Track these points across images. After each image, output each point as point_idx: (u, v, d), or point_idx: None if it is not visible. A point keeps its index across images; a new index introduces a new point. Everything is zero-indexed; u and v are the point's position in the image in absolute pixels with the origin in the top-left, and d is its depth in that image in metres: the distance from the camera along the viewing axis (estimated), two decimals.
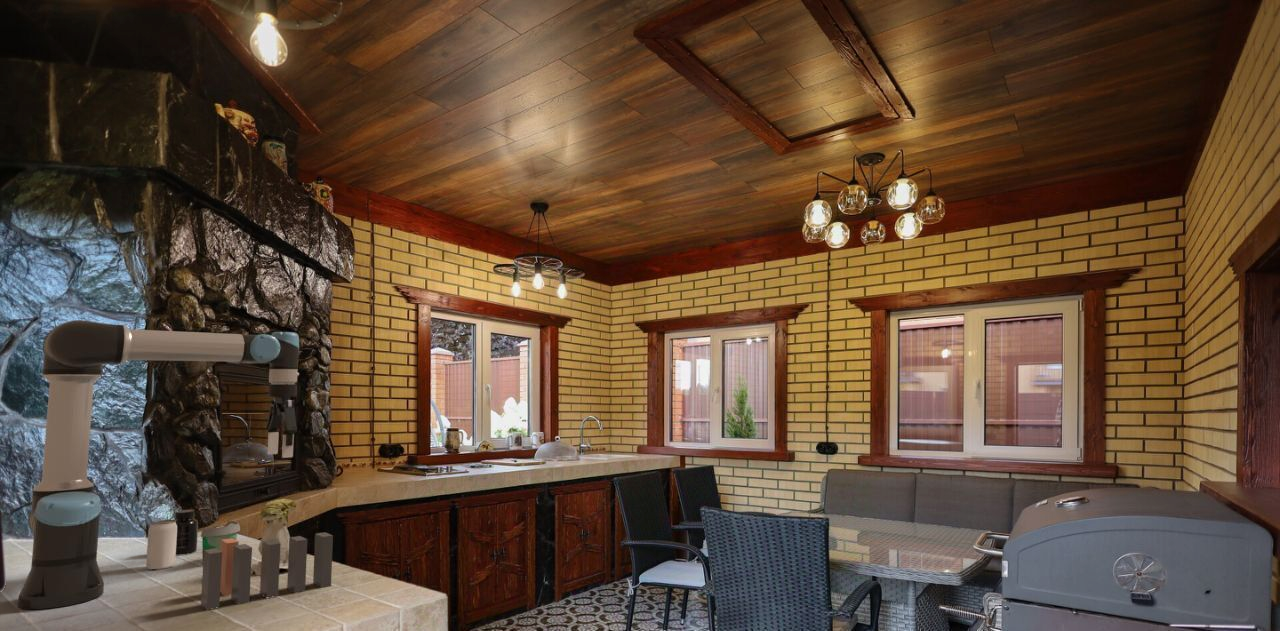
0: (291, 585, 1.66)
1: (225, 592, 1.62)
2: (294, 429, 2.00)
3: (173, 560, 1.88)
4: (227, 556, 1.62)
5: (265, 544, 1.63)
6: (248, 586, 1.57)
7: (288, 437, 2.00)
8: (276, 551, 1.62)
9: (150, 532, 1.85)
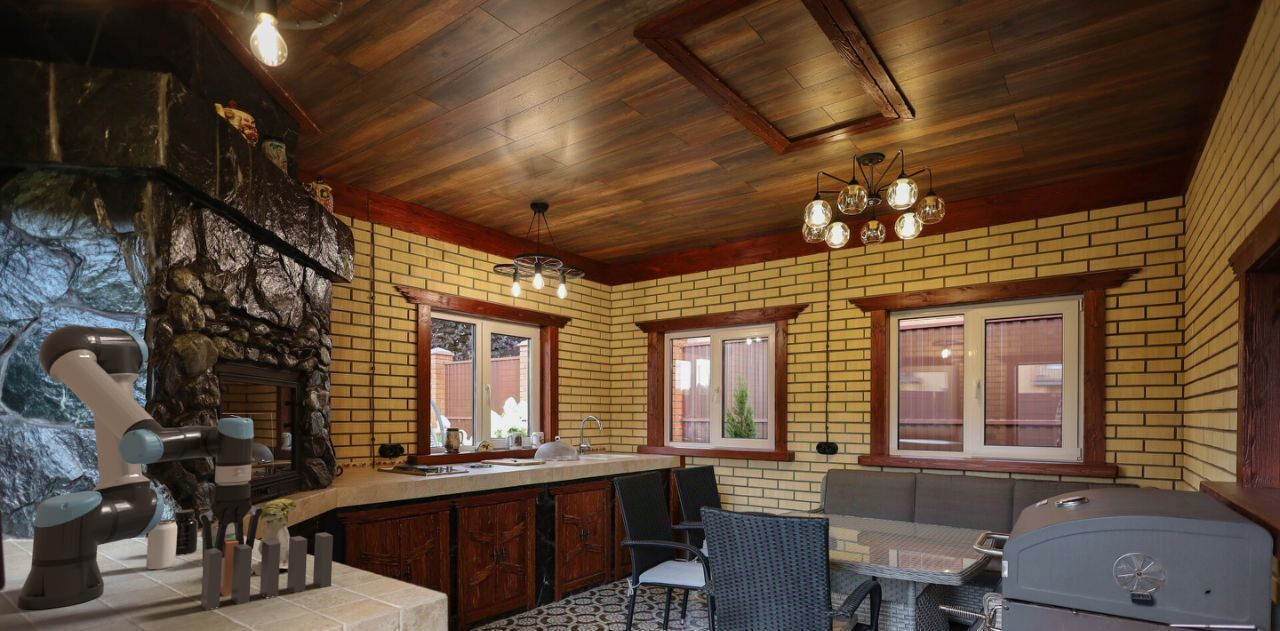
0: (291, 585, 1.66)
1: (225, 592, 1.62)
2: None
3: (173, 560, 1.88)
4: (227, 556, 1.62)
5: (265, 544, 1.63)
6: (248, 586, 1.57)
7: None
8: (276, 551, 1.62)
9: (150, 532, 1.85)
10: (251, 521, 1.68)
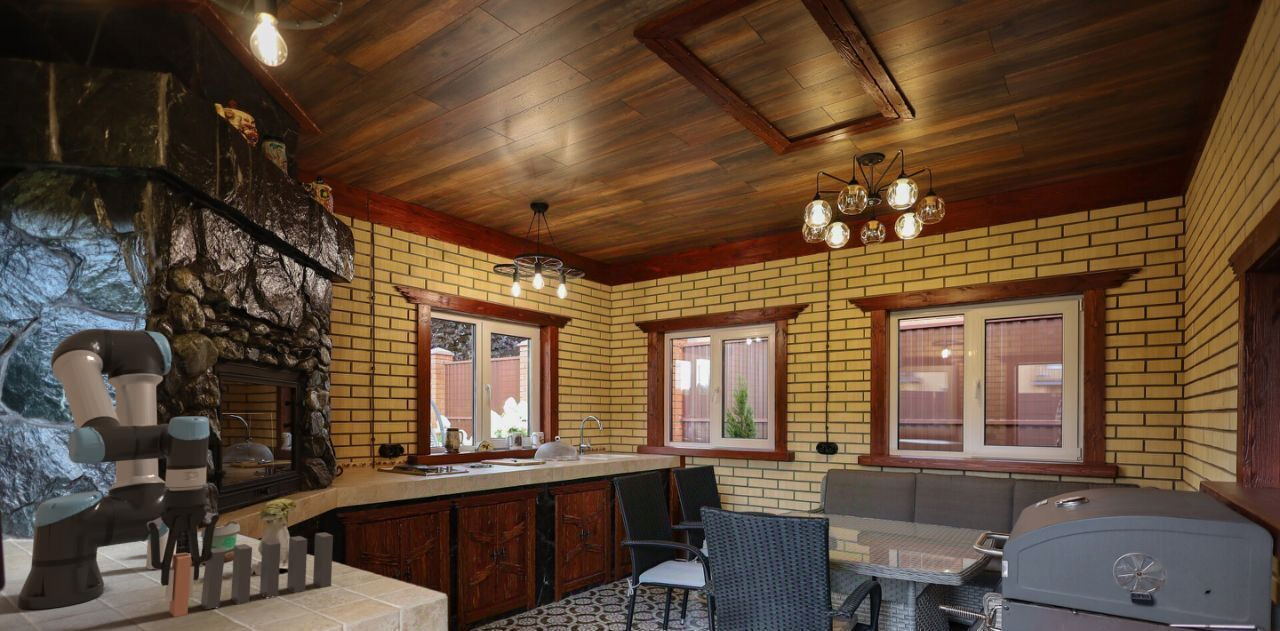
0: (291, 585, 1.66)
1: (175, 612, 1.47)
2: None
3: None
4: (178, 573, 1.48)
5: (265, 544, 1.63)
6: (248, 586, 1.57)
7: (161, 573, 1.48)
8: (276, 551, 1.62)
9: None
10: (207, 529, 1.54)
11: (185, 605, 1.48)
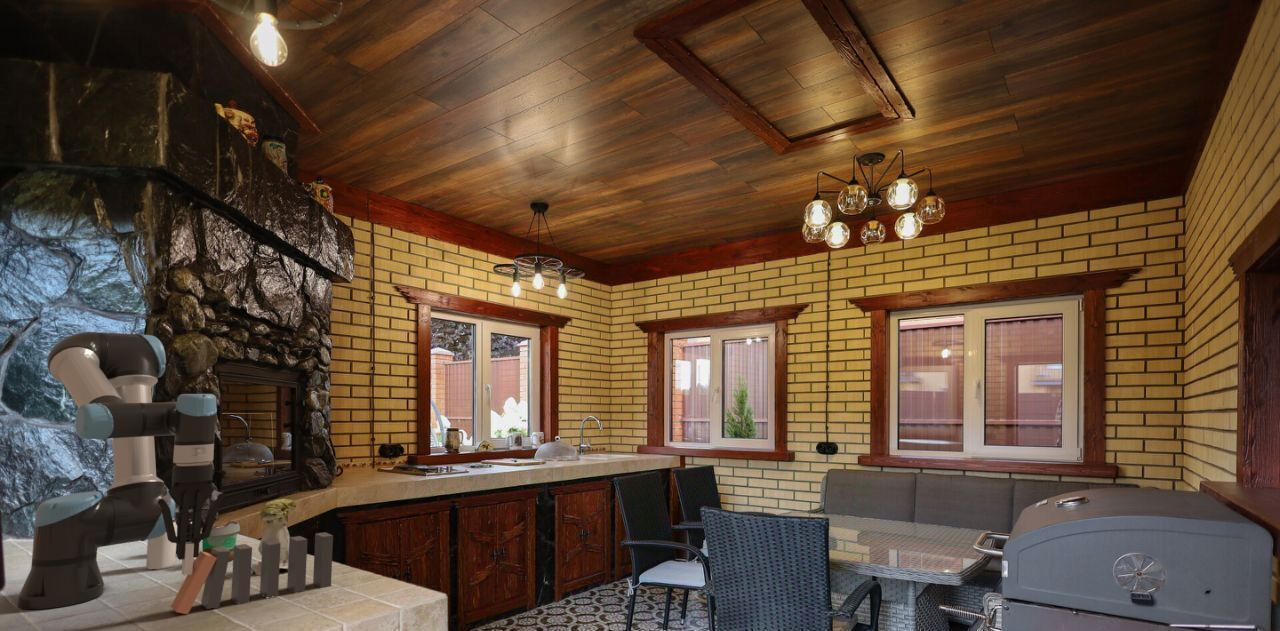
0: (291, 585, 1.66)
1: (179, 608, 1.48)
2: None
3: (173, 560, 1.88)
4: (199, 569, 1.51)
5: (265, 544, 1.63)
6: (248, 586, 1.57)
7: None
8: (276, 551, 1.62)
9: None
10: (211, 506, 1.55)
11: (190, 604, 1.49)
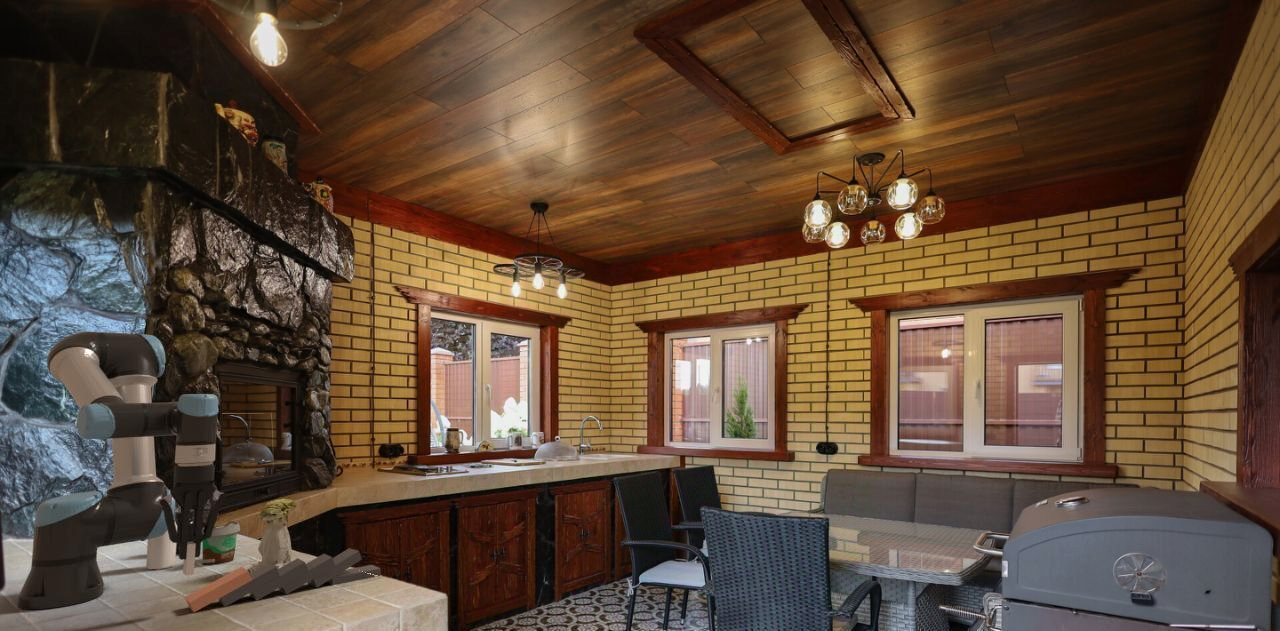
0: None
1: (194, 601, 1.50)
2: None
3: (173, 560, 1.88)
4: (234, 579, 1.55)
5: (326, 555, 1.72)
6: (271, 590, 1.60)
7: (179, 547, 1.51)
8: (327, 567, 1.69)
9: None
10: (213, 506, 1.55)
11: (203, 604, 1.51)
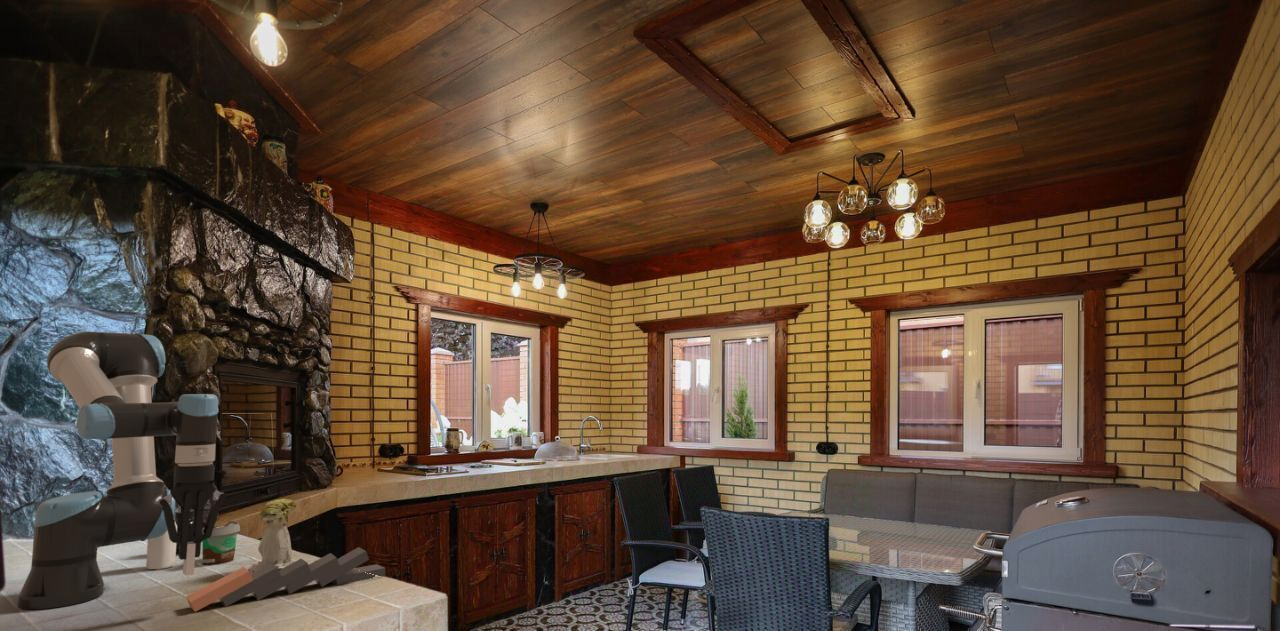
0: None
1: (195, 600, 1.50)
2: None
3: (173, 560, 1.88)
4: (235, 579, 1.55)
5: (331, 555, 1.72)
6: (273, 590, 1.60)
7: (179, 547, 1.51)
8: (331, 567, 1.69)
9: None
10: (213, 506, 1.55)
11: (204, 604, 1.51)
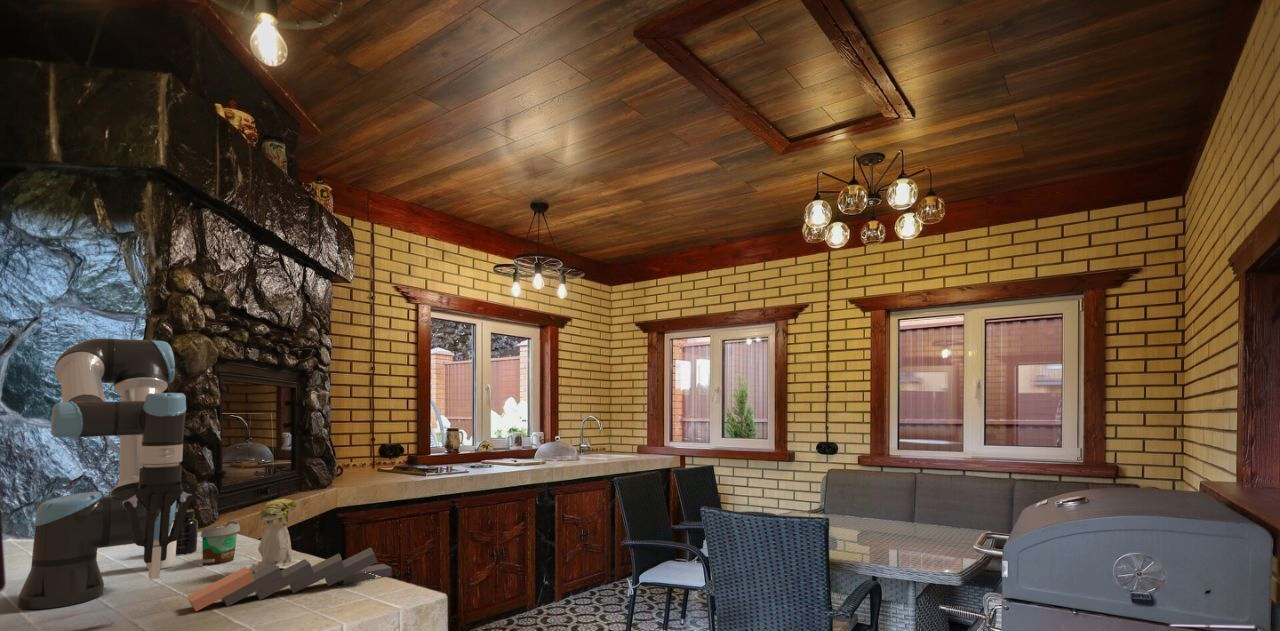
0: None
1: (196, 600, 1.50)
2: None
3: (173, 560, 1.88)
4: (236, 579, 1.55)
5: (338, 556, 1.71)
6: (275, 590, 1.60)
7: (144, 550, 1.47)
8: (336, 569, 1.68)
9: None
10: (180, 508, 1.51)
11: (205, 604, 1.51)
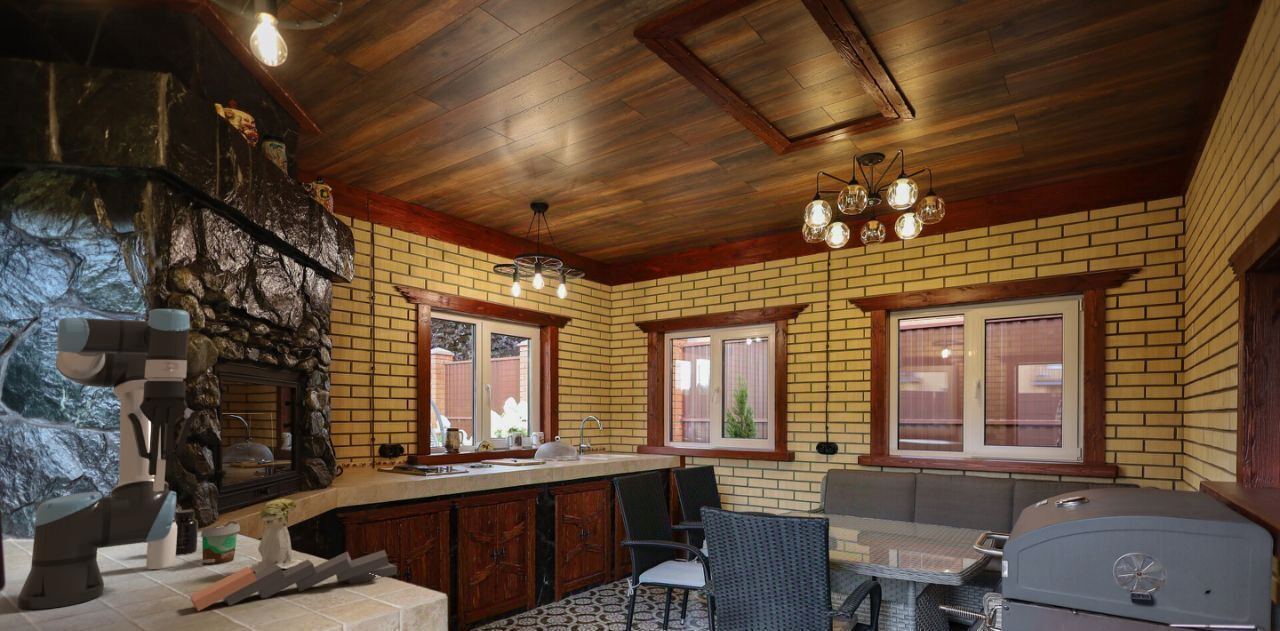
0: None
1: (199, 600, 1.50)
2: None
3: (173, 560, 1.88)
4: (239, 579, 1.55)
5: (345, 555, 1.70)
6: (278, 590, 1.61)
7: (149, 463, 1.48)
8: (342, 568, 1.68)
9: None
10: (184, 424, 1.53)
11: (207, 604, 1.51)
